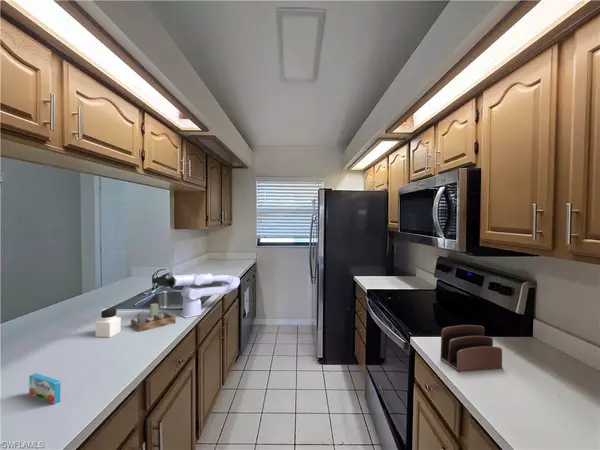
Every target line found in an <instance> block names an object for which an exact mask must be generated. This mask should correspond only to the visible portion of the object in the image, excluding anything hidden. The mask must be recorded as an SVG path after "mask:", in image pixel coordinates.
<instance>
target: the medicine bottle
mask: <svg viewBox="0 0 600 450" xmlns="http://www.w3.org/2000/svg"><path fill="white" fill-rule="evenodd" d="M121 323H122V318H121V316H120V317H118V316H117V308H115V307H107V308H104V309H102V310H101V311H100V319H99V320H96V321H95V337H96V338H112V337H114V336H115V335H117V334H119V333H121V331H122V330H121V326H122V324H121Z"/></svg>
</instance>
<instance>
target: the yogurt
mask: <svg viewBox="0 0 600 450" xmlns="http://www.w3.org/2000/svg"><path fill="white" fill-rule="evenodd" d="M28 377H29V378H28V379H29V383H28V385H29V386H28V387H29V388H28V390H29V391H28V393H29V396H30V397H33V398H36V399H38V400H41V401H44V402H46V403H49V404H52V405H56V404H58V403H60V402H61V383H62V382H61V381H60V380H59V379H55V378H52V377H49V376H46V375H43V374H40V373H37V372H36V373H33V374H30V375H29V376H28Z"/></svg>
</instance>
